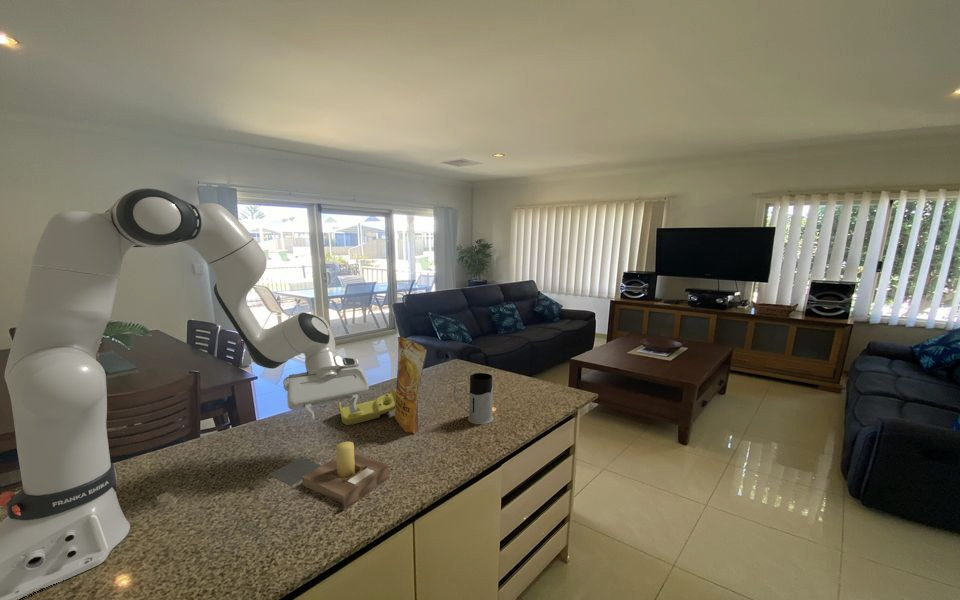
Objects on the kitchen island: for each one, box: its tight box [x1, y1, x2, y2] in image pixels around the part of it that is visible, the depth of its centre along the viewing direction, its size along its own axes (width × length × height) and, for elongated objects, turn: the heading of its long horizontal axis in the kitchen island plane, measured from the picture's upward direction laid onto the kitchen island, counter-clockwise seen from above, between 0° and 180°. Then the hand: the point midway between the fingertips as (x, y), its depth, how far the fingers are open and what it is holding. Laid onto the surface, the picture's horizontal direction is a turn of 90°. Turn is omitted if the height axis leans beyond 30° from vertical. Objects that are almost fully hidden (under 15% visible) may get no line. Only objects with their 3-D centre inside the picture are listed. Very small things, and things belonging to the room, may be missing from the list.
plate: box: [268, 457, 322, 487], centre depth 95 cm, size 9×9×2 cm
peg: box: [335, 441, 356, 479], centre depth 91 cm, size 4×4×10 cm
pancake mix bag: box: [394, 335, 427, 435], centre depth 123 cm, size 7×19×28 cm, turn 31°
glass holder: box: [453, 372, 494, 425], centre depth 126 cm, size 9×14×15 cm, turn 115°
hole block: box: [301, 451, 390, 511], centre depth 91 cm, size 14×14×4 cm
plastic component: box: [338, 388, 396, 426], centre depth 131 cm, size 20×7×10 cm
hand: (335, 416), depth 96 cm, fingers open, 8 cm apart
